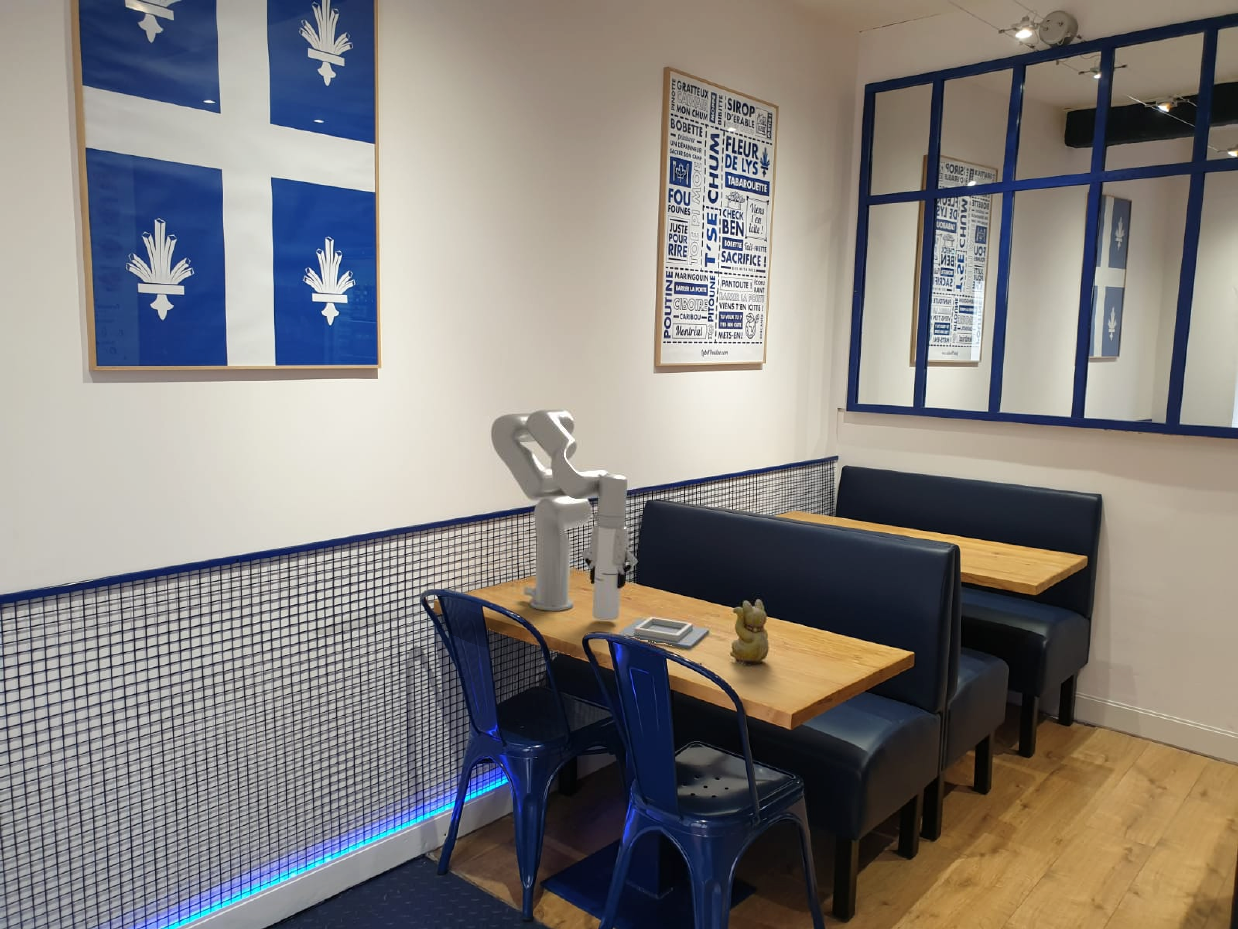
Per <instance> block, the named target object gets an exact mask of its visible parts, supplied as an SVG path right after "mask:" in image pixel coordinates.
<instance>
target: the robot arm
mask: <svg viewBox="0 0 1238 929" xmlns="http://www.w3.org/2000/svg"><path fill="white" fill-rule="evenodd" d="M574 429H575V421H574V419H573V417H572V416H571V414H570V413H569V412H567V411H566V410H564V409H541V410H537V411H534V412H532V413H507V414H504V415H501V416H499V417H497V418H495V420H494V422H493V423H492V426H491V429H490V435H491V442H492V447H493V448H494V451H495V452H496V454H497V456H498V457H499V458H500V459H501V461H503V463H504V464H505V466H507V468H508V470H509V472H510V473H511V475H512V477H513V478H514V479H515V481H516V482H517V484H518V485H519V487H520V489H521V490H522V492H523V493H524V495H525V496H526V497H527V499H528V500H531V501H534V502H536V501H537V502H538V501H539V502H538V503H537V504H536V505H535V507H534V514H533V517H534V524H535V530H536V562H535V563H536V565H535V566H536V567H535V568H536V569H535V572H536V573H535V587H528V586H525V588H524V591H523V592H524V593H523V595H525V596H531V599H530V600H529V605H530V607H532V608H534V609H537V610H541V611H547V612H549V611H550V612H551V611H552V612H555V611H557V612H559V611H565V610H569V609H572V608H573V607H574V604H575V602H574V600H573V599H572V598H570V597H569V596H570V595H569V592H570V591H569V590H570V569H571V567H570V564H571V562H570V561H571V560H570V559H571V543H570V539H569V537H568V535H567V533H566V531H565V530H567V529H571V528H577V527H578V528H579V527H583V526H584V525H586V524H587V523H589V522H590V520H591V518H592V520H595V522H596V523H595V524H593V526H592V531H591V534H590V541H589V546H588V547H586V548H585V549H584V550H583V551H581V552H580V555H581V556H582V558H583V559H584V562H585V563H586V564H587V566H588V569H589V580H590V584H592V585H594V580H595V562H597V555H598V527H601V528H606V529H616V532H615V536H614V546H613V560H612V564H613V565H618V569H619V571H620V574H618V584H617V588H619V589H620V590H621V589H622V588H623V587H625V585H626V583H627V573H628V572H629V571H630V570H631V569H633V567H634V566H635V565H636V564H637V563H638V561H639V560H638V559H637V558H636V557H635V556H634V555H633V554H632V553H631V552H630V551H629V550H630V549H629V548H630V547H629V546H630V545H629V544H630V543H629V542H630V541H629V532H628V527H627V526H626V511H627V510H626V508H627V497H628V496H627V495H628V494H627V493H628V479H627V478H626V477H625V476H623V475H620V474H613V473H610V472H609V471H606V470H603V469H594V470H582V471H577V470H576V469H575V468H574V467H573V466H572V464H571V463H570V462H569V460H570V459H571V458H572V457H573V455H575V453H576V451H577V447H578V446H577V444H578V443H577V442H576V440H575V439H574V437H573V436H571V435H572V434H573V433H574ZM529 442H530V443H532V442H536V444H538V445H539V447H540V448H541V449H542V450H543V451H544V452H545V454H546V455H547V457H549V458H550V459H551V462H550V466H548V467H547V466H543V464H541V463H540V461H539V460H538V458H537V456H536V455H535V454H534V453H533V452H532V451H531V450H530V449H529V448H528V447H526V446H525V445H523V444H522V443H529ZM589 499H597V512H596V514H593V512H592V505H591V504H590V501H589ZM592 514H593V515H592ZM628 561H629V563H628V564H626V562H628Z"/></svg>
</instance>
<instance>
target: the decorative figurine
mask: <svg viewBox="0 0 1238 929" xmlns="http://www.w3.org/2000/svg"><path fill="white" fill-rule="evenodd" d="M732 613H734V614H736V616H737V618H736V620H735V623H734V630H735V633H736V635H737V636H738V639H734V640H733V641H732V643H731V650H732V651H731V652H730V653H729V654H730V656H731V657H733V658H734V659H735V660H736V661H738V662H739V663H741V664H742V665H744V664H745V665H744V666H749V665H748V664H750V665H755V664H761V663H762V661H763V660H765V659H766V657H768V654H769V649H770V647H769V640H768V638H769V635H768V631H767V630H766V629H765V624H766V623H767V618H768V617H767V613H766V611H765V606H764V604H763V602H762V600H761V599H756V601H755V602H754V605H753V606H752V604H751V603H750V602H749V601H748V600H743V602H742V607H741V606H736V607H734V608H733V610H732ZM760 662H761V663H760Z"/></svg>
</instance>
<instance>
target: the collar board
mask: <svg viewBox="0 0 1238 929" xmlns="http://www.w3.org/2000/svg"><path fill="white" fill-rule="evenodd" d="M618 633H619V634H623V635H626V636H628V637H635V638H637V639H640V640H648V642H650V643H649V644H653V643H654V642H656V643H666V644H668V645H672V646H674V647H673V648H677V647H680V648H679V649H683V648H684V650H689V651H690V650H692V649H693V648H694V647H695V646H696V645H697V644H699V642H701V641H702V640H703V639H704V638H705V637H706V636H708V635H709V634H710V628H705V627H704V628H703V627H697V626H694V623H691V622H687V621H686V622H685V621H679V620H673V619H666V618H660V617H654V616H650V617H648V618H647V619H646V618H642V617H641V618H640V617H639V618H638V619H636V620H635V621H633V622H632V623H631V624H629V625H628V626H626V627H624V628H623V629H622V630H620V631H619V632H618ZM652 641H653V642H652Z"/></svg>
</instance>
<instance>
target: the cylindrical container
mask: <svg viewBox="0 0 1238 929" xmlns="http://www.w3.org/2000/svg"><path fill="white" fill-rule="evenodd" d="M615 532H616V529H606V528H601V527H598V555H597V562H595V580H594V584H593V600H592V617H593V618H594V619H597V620H601V621H615V620H618V619H619V617H620V600H621V588H620V589H619V588H617V584H618V574H620V571H619V569H618V565H613V564H612V560H613V546H614V536H615Z"/></svg>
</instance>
